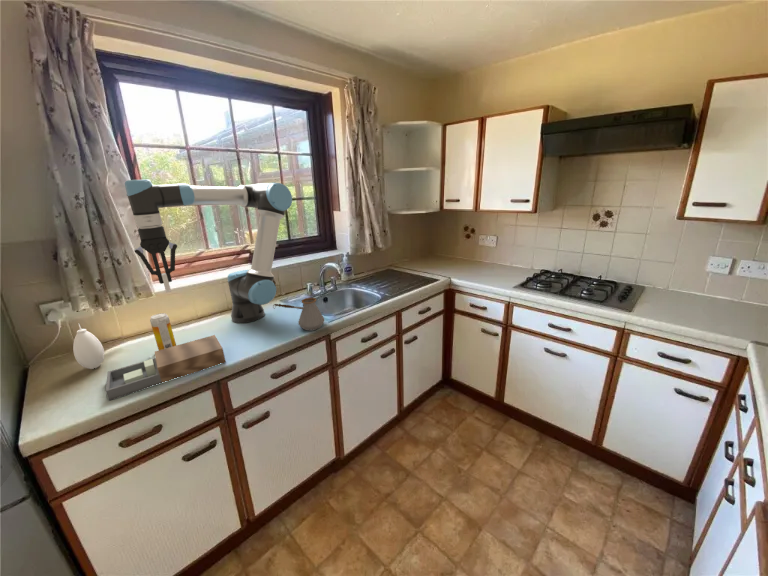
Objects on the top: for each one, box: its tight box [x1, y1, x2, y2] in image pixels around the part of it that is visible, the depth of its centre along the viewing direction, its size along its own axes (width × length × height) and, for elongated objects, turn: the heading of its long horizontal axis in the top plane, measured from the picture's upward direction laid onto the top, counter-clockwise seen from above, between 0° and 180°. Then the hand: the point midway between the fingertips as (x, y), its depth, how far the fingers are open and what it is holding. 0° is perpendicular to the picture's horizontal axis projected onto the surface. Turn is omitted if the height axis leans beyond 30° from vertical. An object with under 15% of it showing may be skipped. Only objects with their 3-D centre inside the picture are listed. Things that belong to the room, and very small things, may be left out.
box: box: [105, 357, 163, 401], centre depth 111 cm, size 14×14×4 cm
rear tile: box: [144, 358, 156, 377], centre depth 113 cm, size 5×5×2 cm
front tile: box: [123, 369, 144, 384], centre depth 111 cm, size 5×5×2 cm
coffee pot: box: [272, 297, 325, 332], centre depth 143 cm, size 21×12×15 cm, turn 126°
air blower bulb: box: [72, 322, 105, 370], centre depth 119 cm, size 8×8×18 cm
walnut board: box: [154, 334, 227, 383], centre depth 120 cm, size 20×14×6 cm
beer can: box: [149, 312, 177, 351], centre depth 130 cm, size 6×6×15 cm
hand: (168, 290), depth 121 cm, fingers closed
